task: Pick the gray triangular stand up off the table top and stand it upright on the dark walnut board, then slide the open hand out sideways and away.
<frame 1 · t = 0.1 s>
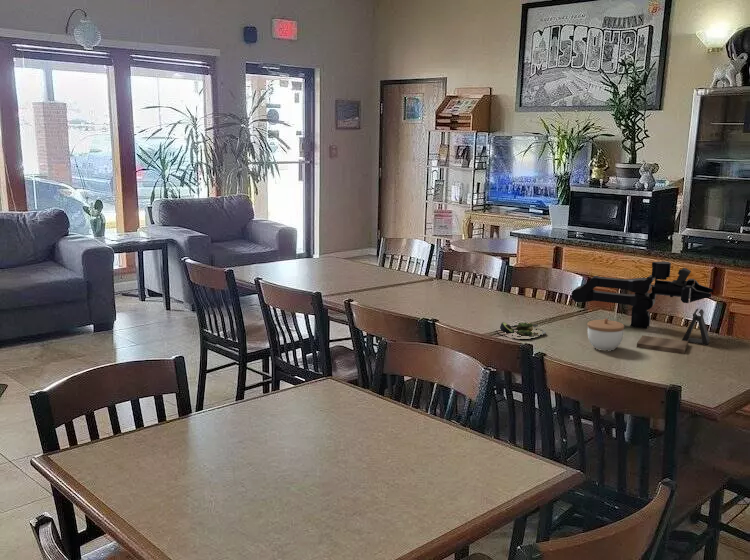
hand: (712, 292, 270), 17 cm above the table, tool horizontal, fingers open, 9 cm apart
gray triangular stand: (695, 341, 265), on the table
walnut board: (662, 346, 258), on the table
lidded bowl: (604, 348, 256), on the table
salad plate: (519, 335, 275), on the table
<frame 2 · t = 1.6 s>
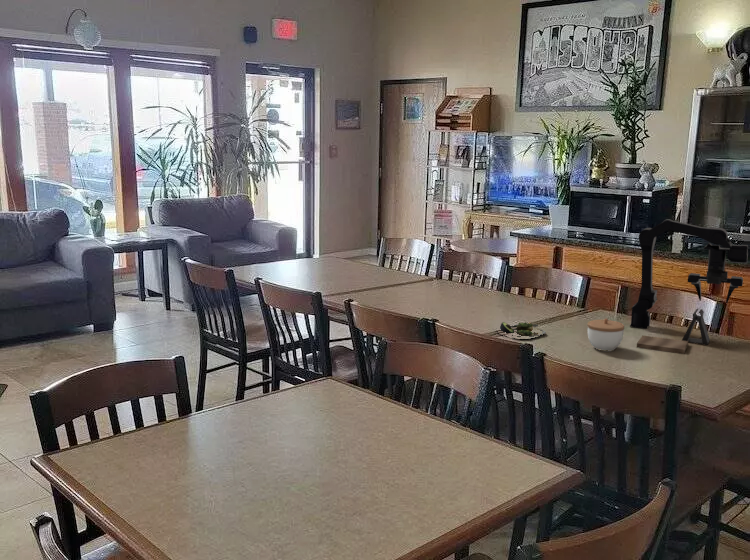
hand: (713, 301, 270), 13 cm above the table, tool pointing down, fingers open, 9 cm apart
nothing on the table moved.
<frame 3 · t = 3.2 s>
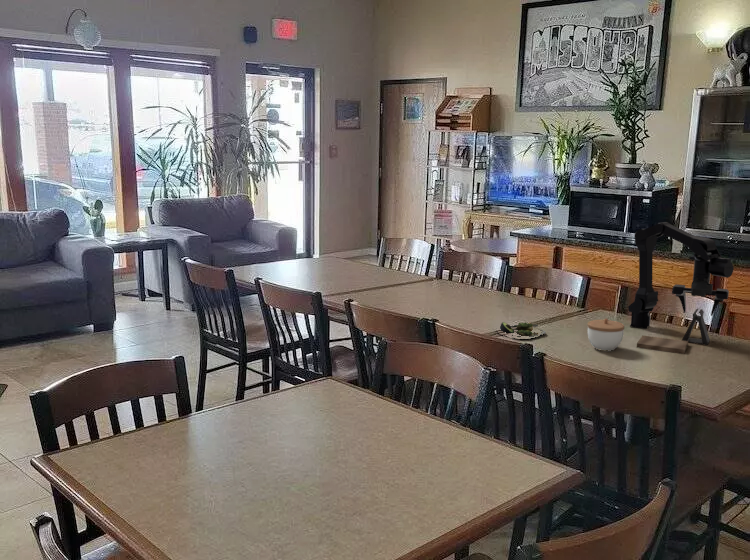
hand: (698, 314, 263), 10 cm above the table, tool pointing down, fingers open, 9 cm apart
nothing on the table moved.
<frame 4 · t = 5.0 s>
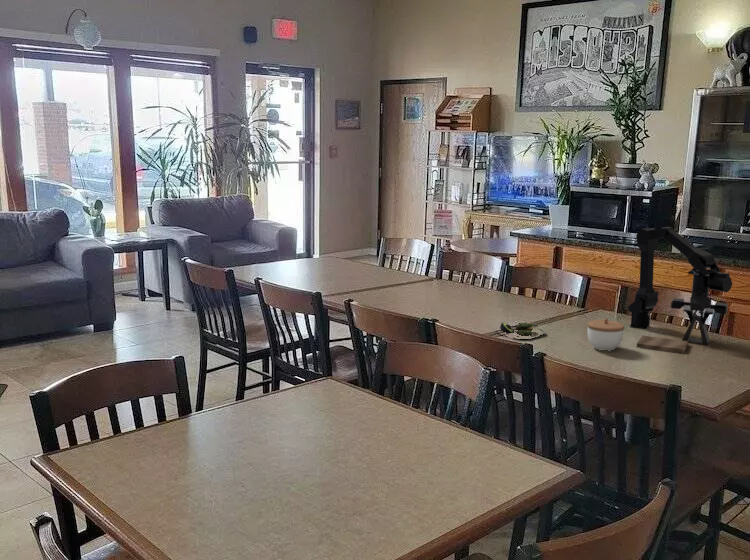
hand: (696, 328, 264), 5 cm above the table, tool pointing down, fingers closed on gray triangular stand, 3 cm apart
gray triangular stand: (695, 341, 265), on the table, touching gripper
everything else where it was.
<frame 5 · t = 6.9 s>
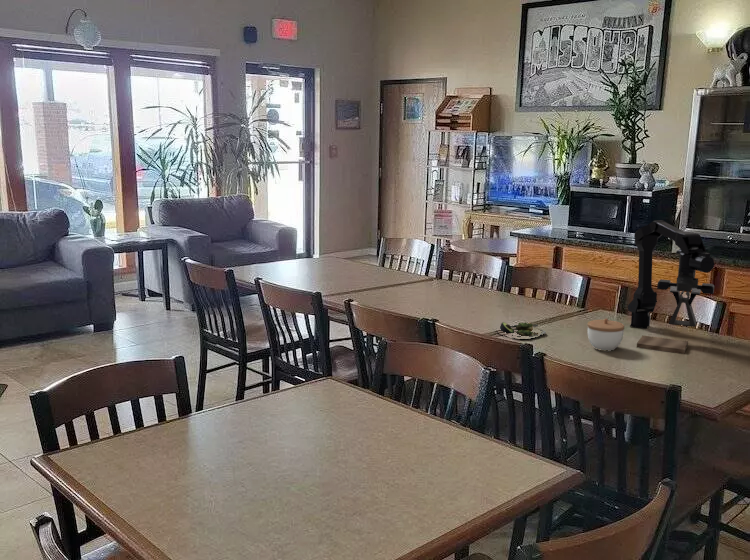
hand: (683, 309, 259), 13 cm above the table, tool pointing down, fingers closed on gray triangular stand, 3 cm apart
gray triangular stand: (682, 324, 260), point 7 cm above the table, touching gripper
everything else where it was.
when the fingers open (8 cm above the table, at t = 9.1 s): gray triangular stand drops 1 cm, resting on walnut board.
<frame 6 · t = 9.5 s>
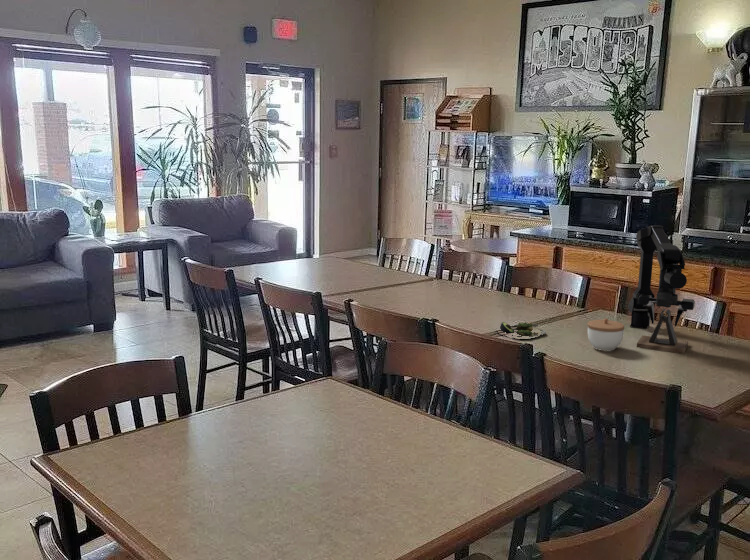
hand: (664, 325, 257), 8 cm above the table, tool pointing down, fingers open, 7 cm apart
gray triangular stand: (662, 342, 258), point 1 cm above the table, touching walnut board
everything else where it was.
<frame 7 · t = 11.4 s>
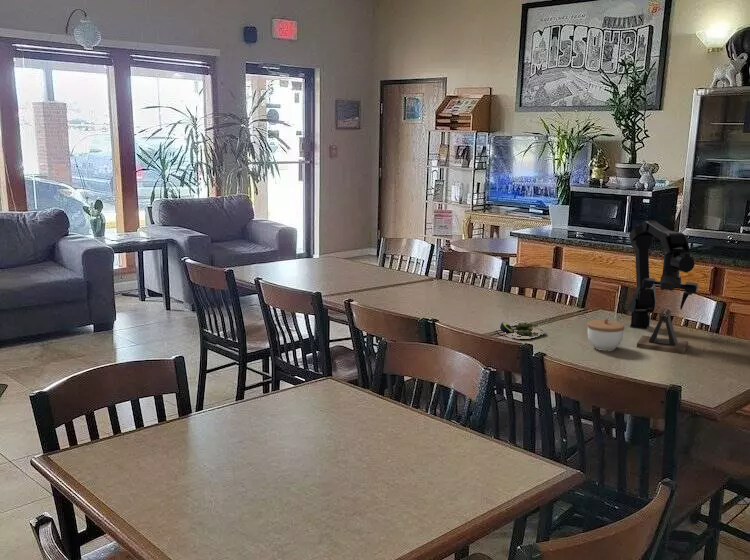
hand: (667, 307, 263), 13 cm above the table, tool pointing down, fingers open, 9 cm apart
nothing on the table moved.
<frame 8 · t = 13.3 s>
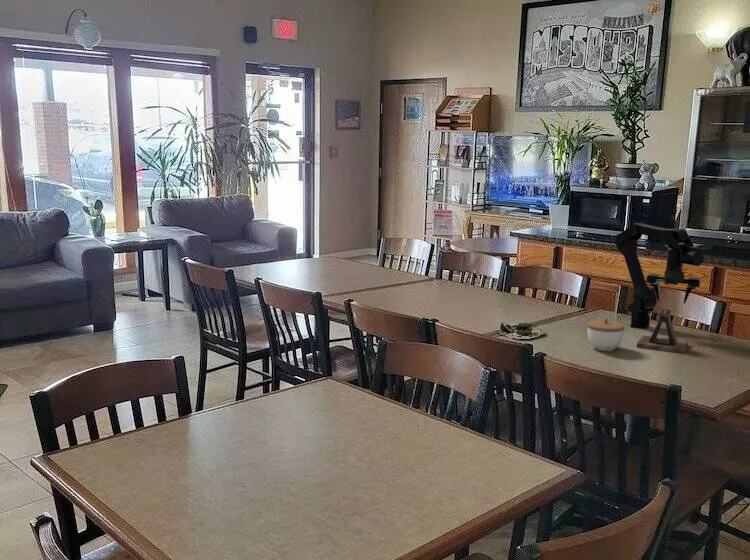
hand: (671, 302, 270), 13 cm above the table, tool pointing down, fingers open, 9 cm apart
nothing on the table moved.
at the end: gray triangular stand inside the target area on the walnut board (0.1 cm from its centre), point 1.3 cm above the walnut board's base; gray triangular stand tilted 0°; the gripper is holding nothing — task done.
